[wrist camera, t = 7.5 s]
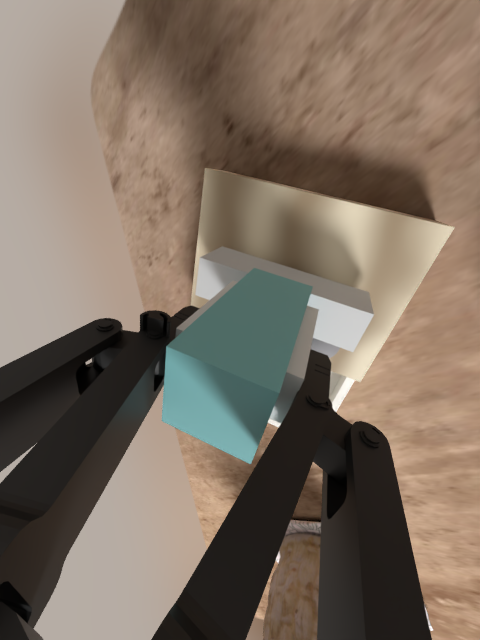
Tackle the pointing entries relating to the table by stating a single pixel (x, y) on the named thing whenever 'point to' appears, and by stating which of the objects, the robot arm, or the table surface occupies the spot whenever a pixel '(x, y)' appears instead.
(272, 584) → the cookie jar
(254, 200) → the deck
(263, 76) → the table surface
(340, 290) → the teal and white t-block
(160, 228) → the table surface
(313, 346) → the pebble
